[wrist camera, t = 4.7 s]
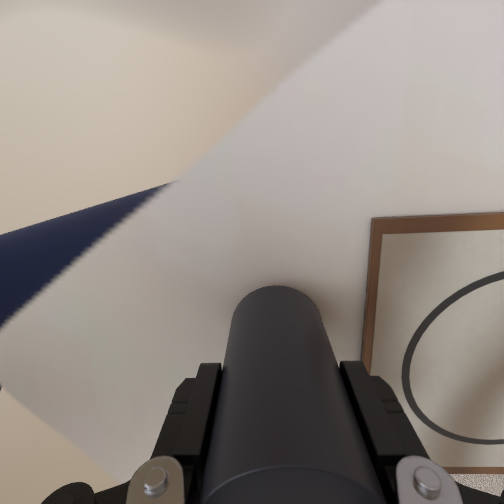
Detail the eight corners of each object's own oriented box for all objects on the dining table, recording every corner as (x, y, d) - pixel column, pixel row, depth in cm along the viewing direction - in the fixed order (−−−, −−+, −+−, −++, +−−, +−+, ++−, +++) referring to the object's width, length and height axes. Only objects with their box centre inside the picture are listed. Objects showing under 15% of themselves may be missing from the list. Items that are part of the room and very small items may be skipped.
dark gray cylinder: (236, 351, 16) (203, 595, 7) (230, 278, 15) (180, 466, 6) (316, 349, 16) (385, 598, 7) (318, 275, 15) (405, 466, 6)
